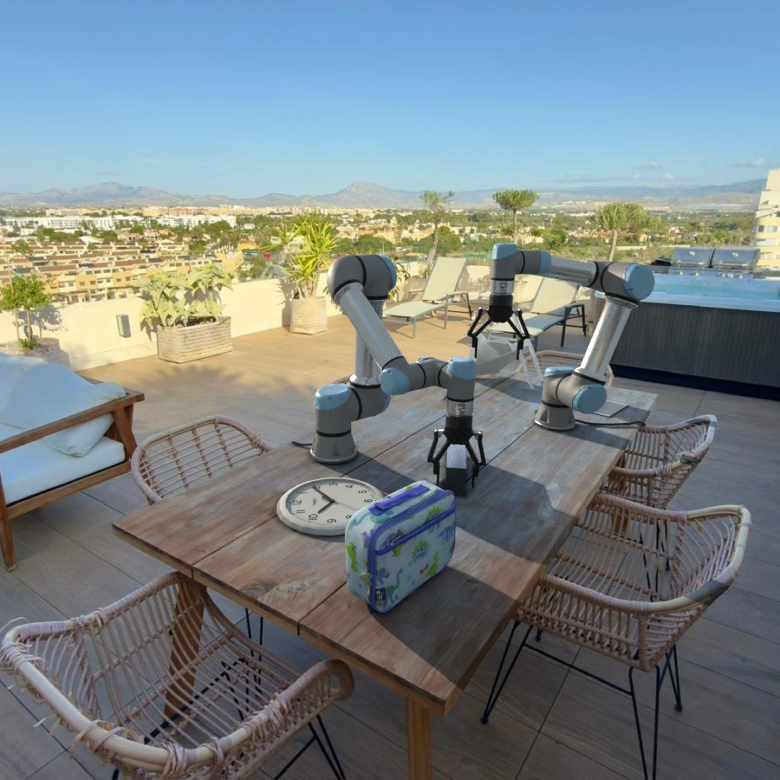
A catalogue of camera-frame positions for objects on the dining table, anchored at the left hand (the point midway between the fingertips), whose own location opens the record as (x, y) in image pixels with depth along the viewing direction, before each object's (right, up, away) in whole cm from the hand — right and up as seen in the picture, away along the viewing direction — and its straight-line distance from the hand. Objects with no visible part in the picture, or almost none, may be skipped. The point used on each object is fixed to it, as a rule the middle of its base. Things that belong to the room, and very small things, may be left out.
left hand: (455, 485), depth 152 cm
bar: (+1, +2, +10) cm, 11 cm away
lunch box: (-16, -14, -41) cm, 46 cm away
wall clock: (-35, -4, -10) cm, 36 cm away
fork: (+7, +25, +85) cm, 89 cm away
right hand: (+16, +38, +21) cm, 47 cm away
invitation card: (+72, +20, +74) cm, 105 cm away
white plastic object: (+34, +31, +105) cm, 115 cm away
